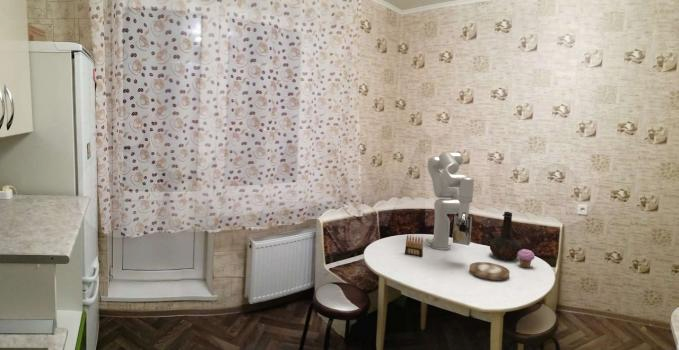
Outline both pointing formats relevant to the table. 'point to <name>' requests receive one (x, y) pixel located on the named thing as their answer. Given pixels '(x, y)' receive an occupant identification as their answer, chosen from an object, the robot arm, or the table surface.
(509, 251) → the dark brown vase
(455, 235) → the coffee box
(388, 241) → the table surface
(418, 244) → the ammunition clip
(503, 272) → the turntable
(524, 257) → the cupcake
